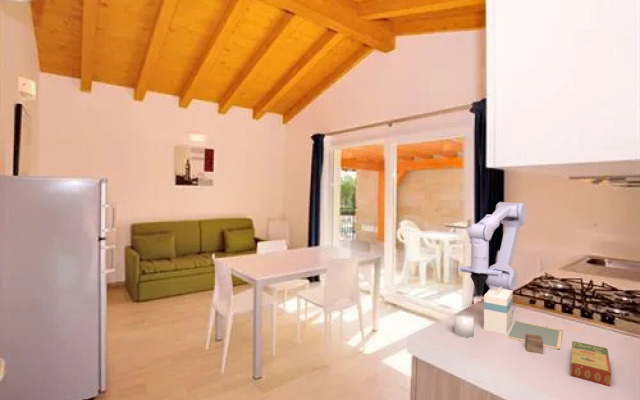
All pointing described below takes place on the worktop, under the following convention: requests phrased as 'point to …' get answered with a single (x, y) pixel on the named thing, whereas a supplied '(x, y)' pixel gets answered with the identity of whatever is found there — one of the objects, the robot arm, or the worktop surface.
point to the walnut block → (534, 343)
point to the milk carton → (498, 310)
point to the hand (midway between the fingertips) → (479, 293)
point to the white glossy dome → (464, 325)
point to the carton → (590, 363)
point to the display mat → (547, 334)
